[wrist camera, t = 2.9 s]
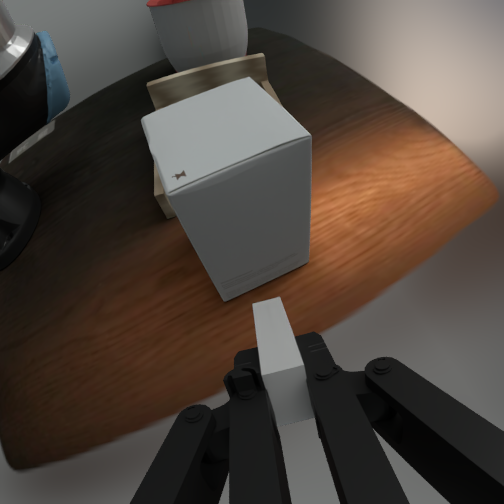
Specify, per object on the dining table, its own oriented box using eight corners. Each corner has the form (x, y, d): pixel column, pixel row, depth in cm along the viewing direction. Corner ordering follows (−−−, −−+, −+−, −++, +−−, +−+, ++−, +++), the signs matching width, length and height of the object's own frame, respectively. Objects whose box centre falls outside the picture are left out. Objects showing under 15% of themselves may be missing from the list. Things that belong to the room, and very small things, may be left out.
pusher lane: (167, 218, 34) (139, 169, 27) (164, 125, 44) (147, 82, 37) (308, 182, 34) (308, 125, 27) (268, 98, 43) (262, 53, 37)
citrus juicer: (230, 44, 57) (213, -37, 40) (270, 70, 48) (256, -34, 31) (161, 69, 55) (133, -13, 38) (186, 101, 46) (151, -8, 29)
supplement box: (312, 263, 29) (318, 135, 16) (223, 304, 28) (162, 198, 16) (270, 196, 34) (251, 72, 21) (192, 230, 33) (137, 116, 20)
